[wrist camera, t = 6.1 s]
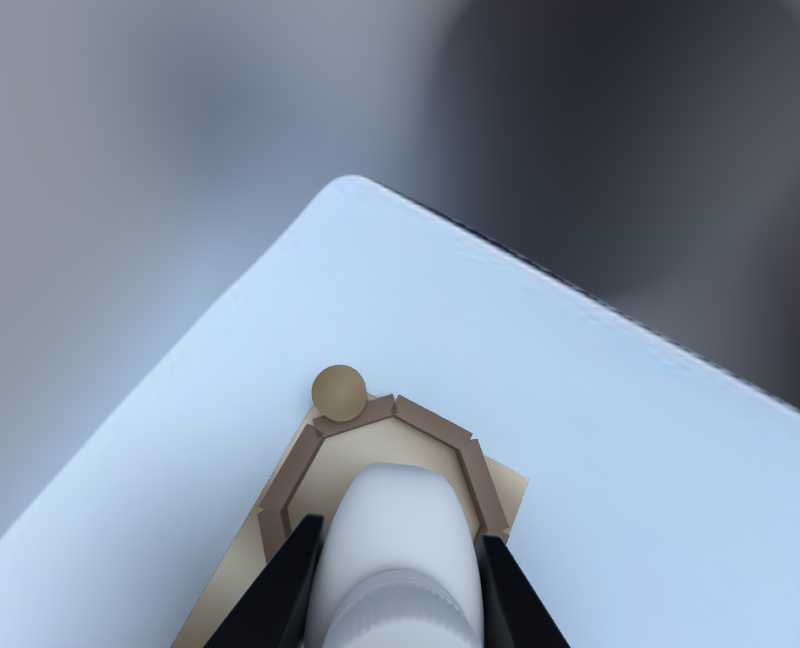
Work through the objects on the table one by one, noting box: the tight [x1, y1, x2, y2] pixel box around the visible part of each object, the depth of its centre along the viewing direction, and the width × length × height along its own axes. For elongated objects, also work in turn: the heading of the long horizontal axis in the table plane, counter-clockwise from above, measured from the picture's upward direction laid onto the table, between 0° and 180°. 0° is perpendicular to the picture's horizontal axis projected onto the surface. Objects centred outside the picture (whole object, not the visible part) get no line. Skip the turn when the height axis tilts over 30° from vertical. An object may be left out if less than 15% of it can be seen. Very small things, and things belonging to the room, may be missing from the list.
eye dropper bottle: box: [303, 462, 484, 648], centre depth 9 cm, size 4×6×12 cm
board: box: [171, 365, 529, 648], centre depth 17 cm, size 16×12×5 cm
